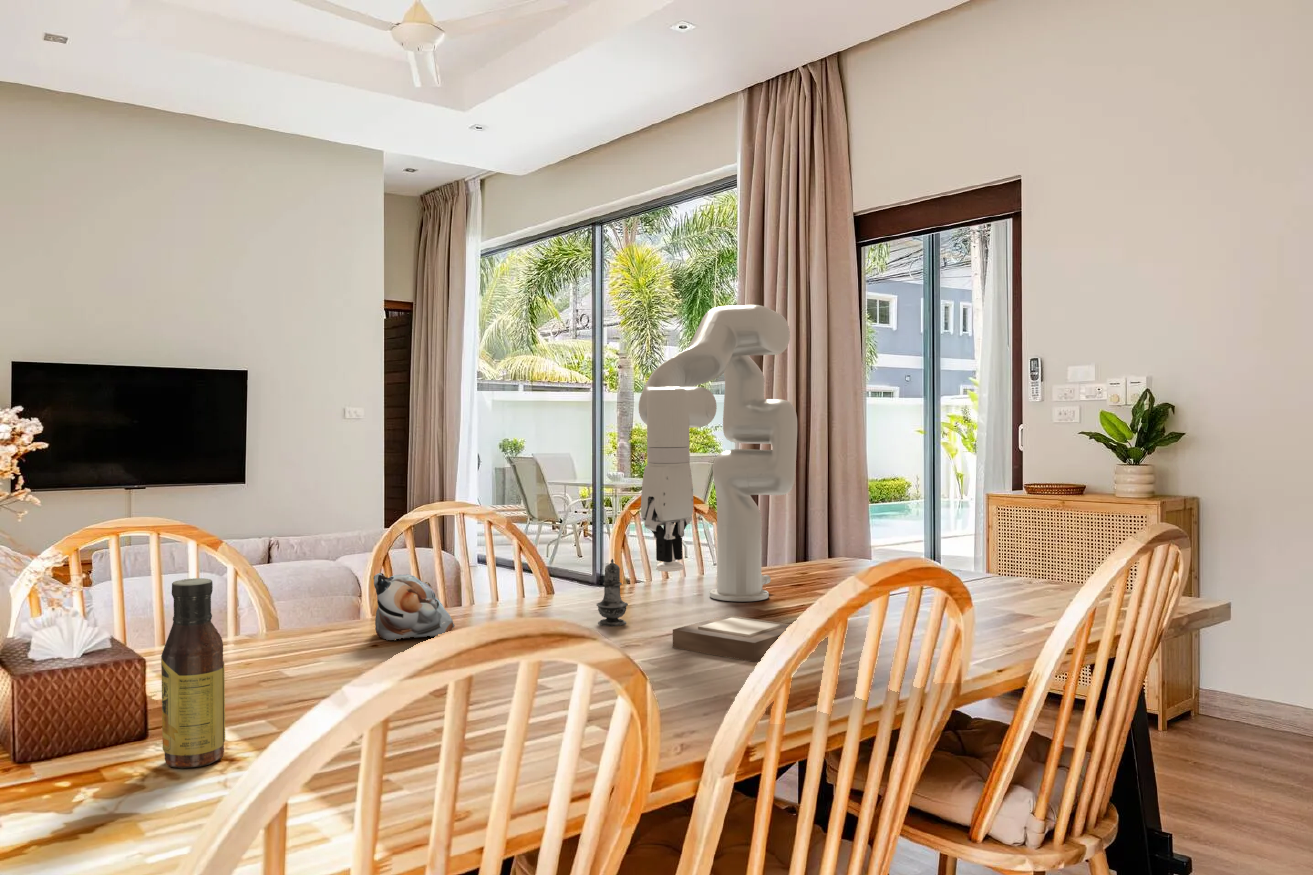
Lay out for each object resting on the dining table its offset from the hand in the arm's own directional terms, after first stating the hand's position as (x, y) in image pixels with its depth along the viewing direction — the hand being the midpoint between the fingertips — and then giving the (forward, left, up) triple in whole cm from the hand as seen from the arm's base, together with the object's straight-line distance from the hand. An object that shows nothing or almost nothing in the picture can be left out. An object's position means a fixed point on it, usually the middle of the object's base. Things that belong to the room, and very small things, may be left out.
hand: (669, 559), depth 177 cm
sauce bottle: (+87, +1, -13) cm, 88 cm away
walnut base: (+2, +16, -13) cm, 21 cm away
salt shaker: (+1, -13, -13) cm, 18 cm away
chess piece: (0, 0, -2) cm, 2 cm away
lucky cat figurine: (+31, -32, -13) cm, 46 cm away
